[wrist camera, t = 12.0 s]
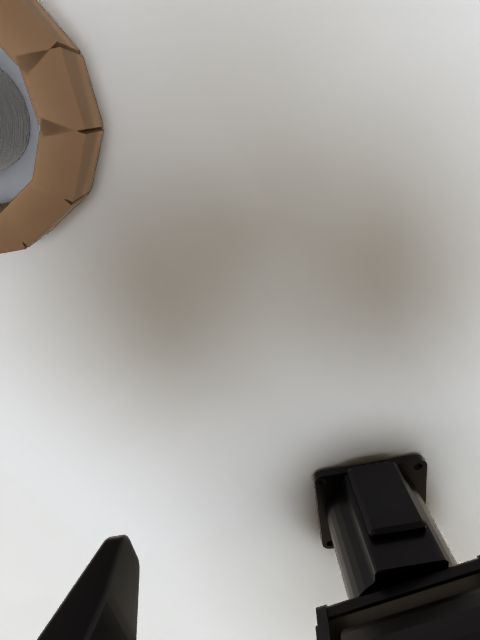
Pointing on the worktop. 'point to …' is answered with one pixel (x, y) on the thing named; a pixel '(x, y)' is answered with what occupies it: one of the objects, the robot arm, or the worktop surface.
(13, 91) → the grey metal peg
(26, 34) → the brown segmented ring
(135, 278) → the worktop surface
